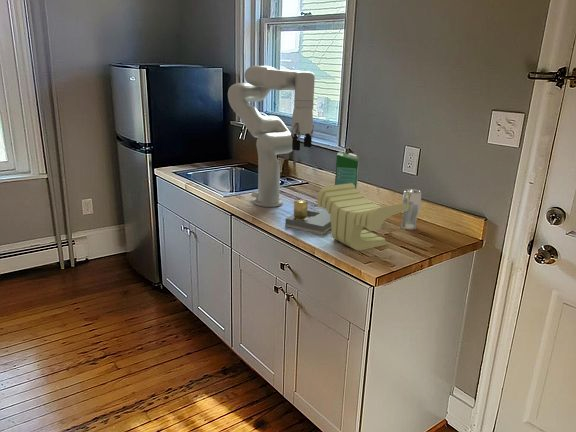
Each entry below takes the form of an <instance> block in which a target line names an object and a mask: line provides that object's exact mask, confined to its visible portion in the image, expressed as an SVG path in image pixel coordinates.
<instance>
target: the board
mask: <svg viewBox="0 0 576 432" xmlns="http://www.w3.org/2000/svg"><path fill="white" fill-rule="evenodd" d="M284 220H285V222H284V223H285V224H284V225H285V226H284V227H286V226H287V227H288V228H292V229H295V230H296V229H297V230H300V231H305V232H308V233H309V232H310V233H315V234H319V235H323V234H325V233H326V232H329V231H330V230H332V229H331V219H330V214H329V213H328V212H323V211H318V210H313V209H308V208H307V218H305V220H304V221H300V220H296V218H295V217H294V213H293V214H292V215H289V216H287V217H286V218H285V219H284Z"/></svg>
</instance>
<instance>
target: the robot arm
mask: <svg viewBox="0 0 576 432" xmlns="http://www.w3.org/2000/svg"><path fill="white" fill-rule="evenodd" d="M315 78H316V76H315V73H314V72H311V71H301V70H295V69H294V70H292V69H291V70H290V69H287V70H285V69H276V68H275V67H272V66H270V65H252V66H249V67H248V68H246V70H245V71H244V80H245V82H236V83H234V84H232V85H231V86H229V88H228V91H227V100H228V103H229V106H230V107H231V109H232V110H233V112H234V113H235V114H236V115H237V117H239V119H240V120H241V121H242V123H243V124H244V126H245V128H246V129H247V130H248V132H249V133H250V134H251V136H252V137H254V138H257V139H256V143H255V145H256V150H257V151H256V152H257V157H258V158H257V159H258V162H257V163H258V165H257V166H258V168H257V169H258V173H257V175H258V176H257V177H258V178H257V179H258V182H257V183H258V184H257V186H258V187H257V189H258V190H257V191H252V192H251V197H252V198H255V200H254V204H255V206H258V207H262V208H263V207H264V208H275V207H276V208H277V207H280V206H282V205H283V200H282V199H280V186H281V185H280V182H281V180H280V179H281V164H280V161H279V159H278V158H277V156H278V155H284V154H290V153H291V152H293V151H300V150H301V140H300V138H301V136H303V135H304V138H303V147H304V148H312V141H313V139H312V138H313V133H314V127H315V126H314V123H313V122H314V121H313V119H314V115H313V109H314V100H315V99H314V98H315V97H314V96H315ZM271 90H275V91H294V94H293V95H294V98H293V99H294V100H293V111H292V117H291V124H290V125H291V127H290V130H289V128H288V127H287V126H286V124H285V123H284V121H283V120H282V119H281V118H280V117H279V116H276V115H262V114H261V113H260V112H259V110H258V109H257V108H256V106H254V105H253V104H251V103H257V102H262V101H263V100H264V99H266V98H267V96H268V94H270V92H271Z"/></svg>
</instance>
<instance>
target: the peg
mask: <svg viewBox="0 0 576 432" xmlns="http://www.w3.org/2000/svg"><path fill="white" fill-rule="evenodd" d="M293 202H294V203H293V214H294V217H295V218H296V220H300V221H304V220H305V218H307V209H308V206H309V205H308V203H309V202H308V201H307V200H304V199H297V200H296V199H295V200H294V201H293Z"/></svg>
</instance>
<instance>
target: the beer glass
mask: <svg viewBox="0 0 576 432" xmlns="http://www.w3.org/2000/svg"><path fill="white" fill-rule="evenodd" d="M421 202H422V191H421V190H419V189H415V188H414V189H413V188H406V189H404V190H403V195H402V202H401V204H405V203H409V208H408V211H405V212H402V221H401V224H400V228H401V229H403V230H406V231H415V230H417V219H418V215H419V212H420V208H421Z"/></svg>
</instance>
